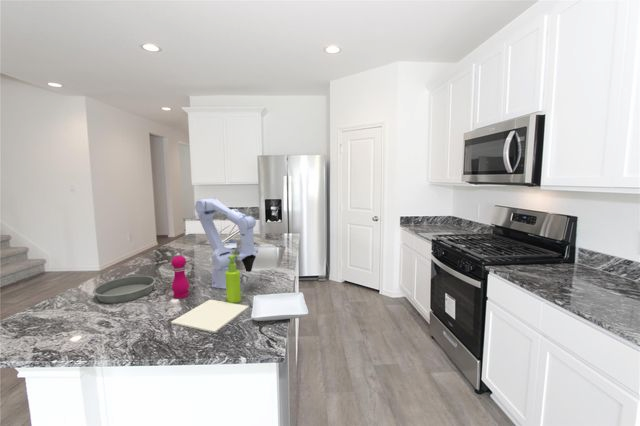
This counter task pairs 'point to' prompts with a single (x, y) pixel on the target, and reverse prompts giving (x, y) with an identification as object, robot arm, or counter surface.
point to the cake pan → (124, 289)
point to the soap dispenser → (233, 282)
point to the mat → (210, 315)
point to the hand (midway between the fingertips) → (248, 271)
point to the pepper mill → (179, 277)
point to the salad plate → (279, 306)
